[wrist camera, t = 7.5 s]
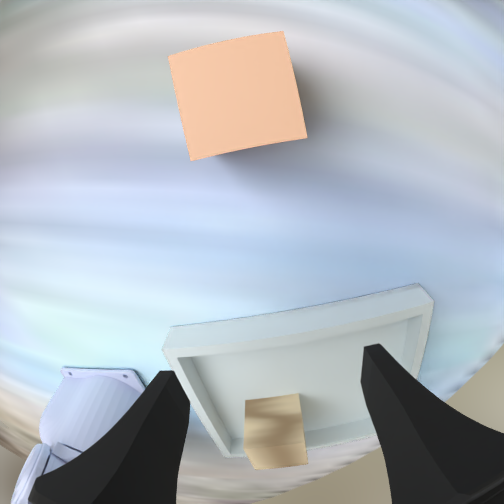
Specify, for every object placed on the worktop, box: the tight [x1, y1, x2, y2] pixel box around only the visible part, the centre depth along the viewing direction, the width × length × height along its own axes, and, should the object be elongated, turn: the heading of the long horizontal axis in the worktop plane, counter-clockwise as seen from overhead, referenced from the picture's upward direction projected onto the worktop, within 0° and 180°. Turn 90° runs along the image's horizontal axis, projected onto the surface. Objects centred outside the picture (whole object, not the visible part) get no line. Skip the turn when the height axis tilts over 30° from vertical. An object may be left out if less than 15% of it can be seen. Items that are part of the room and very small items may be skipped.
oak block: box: [243, 393, 308, 470], centre depth 20 cm, size 4×4×5 cm
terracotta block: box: [168, 31, 307, 161], centre depth 12 cm, size 4×4×5 cm
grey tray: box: [162, 283, 434, 458], centre depth 21 cm, size 18×16×2 cm
